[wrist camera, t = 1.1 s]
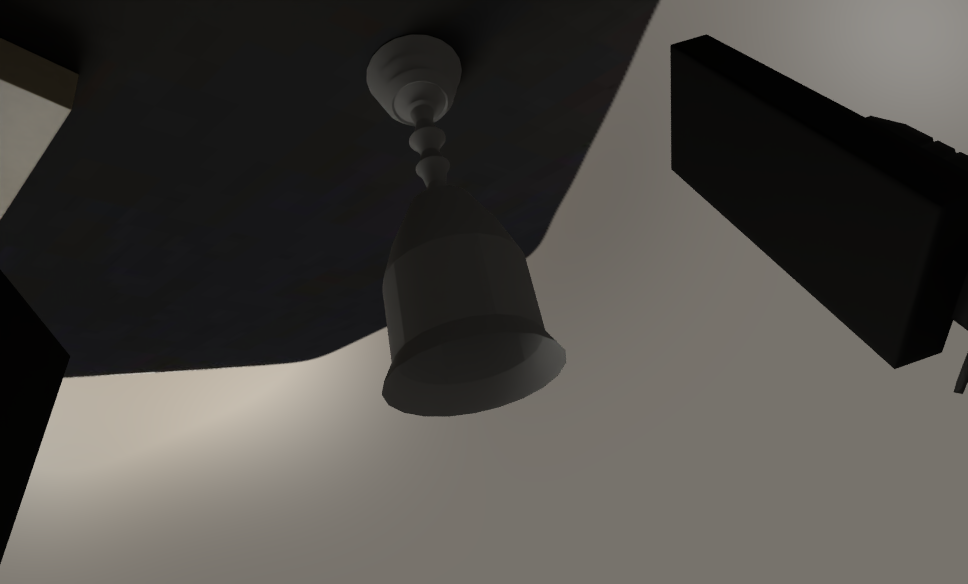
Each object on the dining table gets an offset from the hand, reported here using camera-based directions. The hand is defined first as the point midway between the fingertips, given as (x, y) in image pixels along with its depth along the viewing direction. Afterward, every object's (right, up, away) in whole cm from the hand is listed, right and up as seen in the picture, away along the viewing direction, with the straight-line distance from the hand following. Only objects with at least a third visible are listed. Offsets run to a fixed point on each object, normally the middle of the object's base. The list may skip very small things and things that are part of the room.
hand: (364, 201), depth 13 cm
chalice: (-1, +10, +23) cm, 25 cm away
